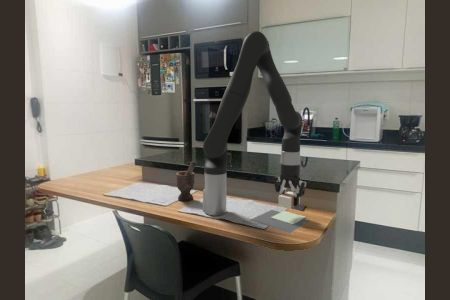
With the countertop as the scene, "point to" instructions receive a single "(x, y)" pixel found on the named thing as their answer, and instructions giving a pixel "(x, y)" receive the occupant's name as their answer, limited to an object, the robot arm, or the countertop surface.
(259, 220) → the mat
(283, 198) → the card box
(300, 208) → the chocolate bar
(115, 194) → the countertop surface
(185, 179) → the mortar and pestle
